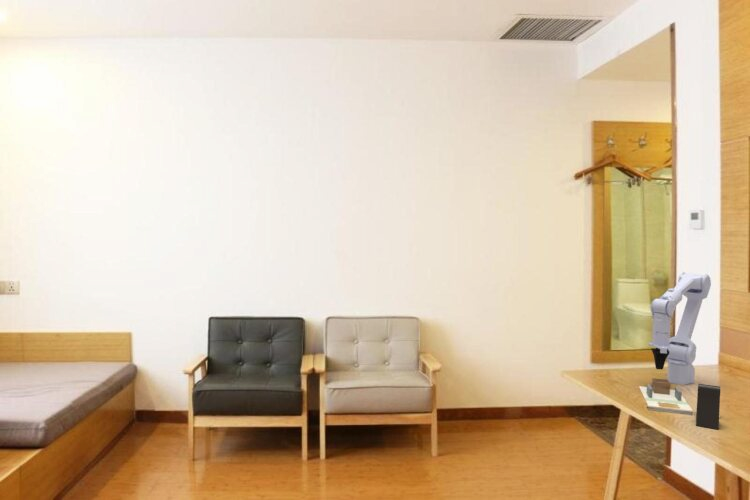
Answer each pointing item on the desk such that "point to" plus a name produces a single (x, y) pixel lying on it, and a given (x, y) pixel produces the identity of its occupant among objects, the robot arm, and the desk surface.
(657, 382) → the block
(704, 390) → the black open bin
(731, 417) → the desk surface
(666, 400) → the pad
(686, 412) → the board
